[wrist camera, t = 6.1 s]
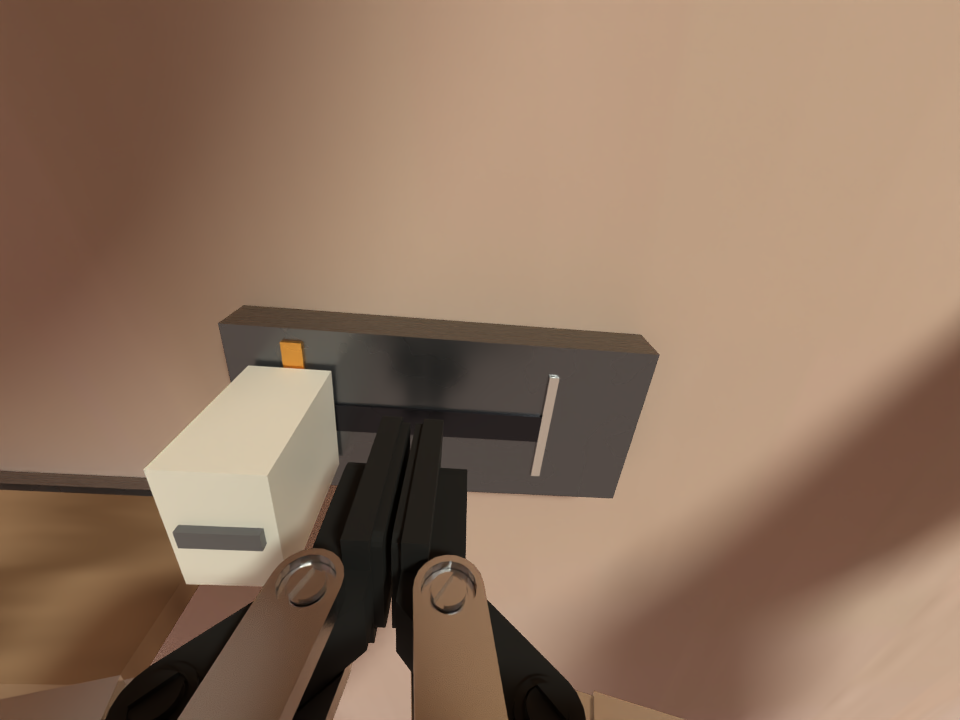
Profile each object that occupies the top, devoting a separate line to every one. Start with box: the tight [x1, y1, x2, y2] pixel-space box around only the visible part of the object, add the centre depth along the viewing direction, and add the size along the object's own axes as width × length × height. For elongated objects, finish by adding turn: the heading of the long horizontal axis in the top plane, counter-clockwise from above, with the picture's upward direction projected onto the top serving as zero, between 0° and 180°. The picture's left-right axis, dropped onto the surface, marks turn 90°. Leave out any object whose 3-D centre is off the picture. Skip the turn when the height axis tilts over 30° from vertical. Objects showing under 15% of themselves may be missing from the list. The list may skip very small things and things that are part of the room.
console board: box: [218, 305, 659, 498], centre depth 14 cm, size 13×6×2 cm, turn 85°
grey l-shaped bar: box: [0, 471, 153, 496], centre depth 13 cm, size 12×1×8 cm, turn 85°
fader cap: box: [143, 365, 339, 587], centre depth 11 cm, size 2×4×5 cm, turn 175°
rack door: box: [0, 490, 199, 699], centre depth 13 cm, size 10×1×6 cm, turn 85°
